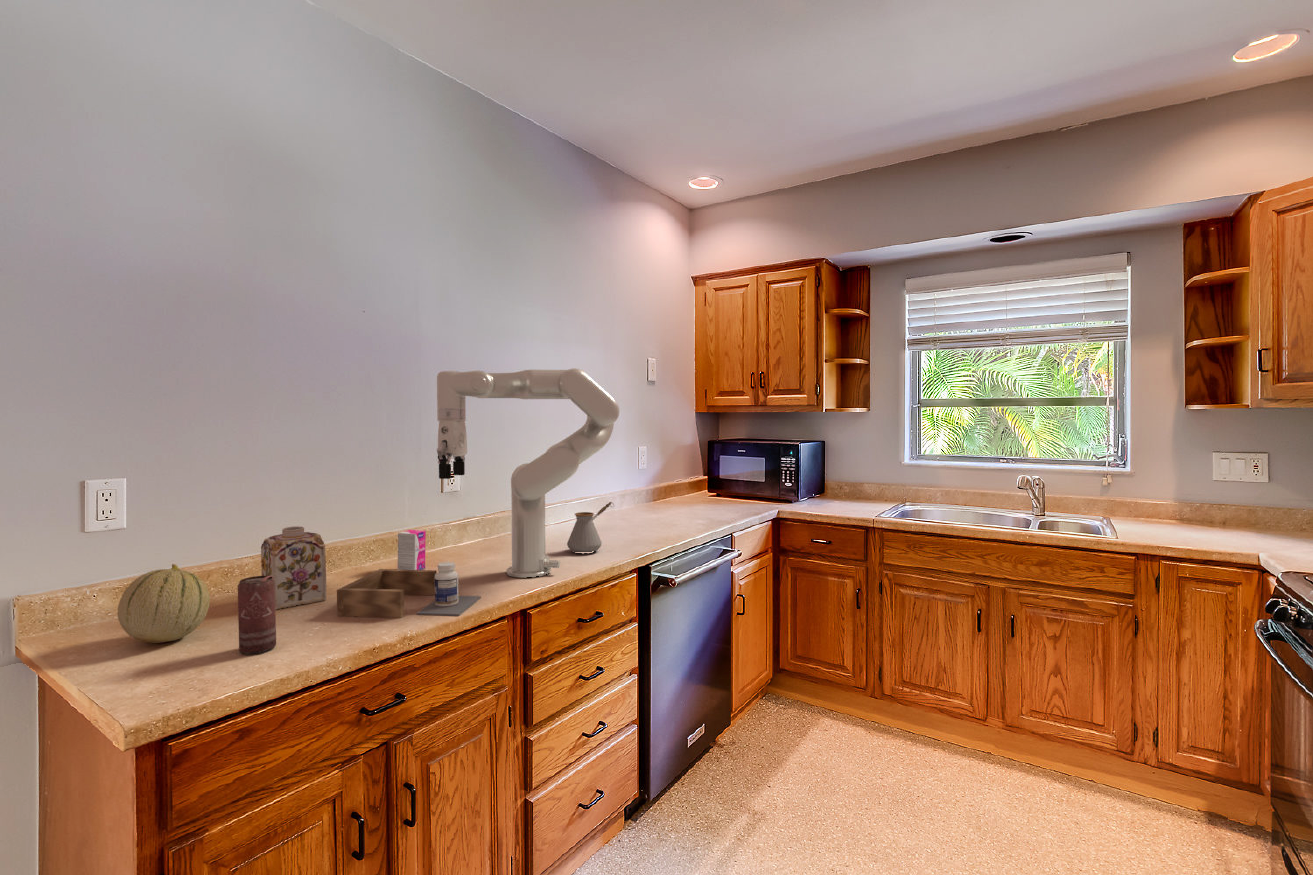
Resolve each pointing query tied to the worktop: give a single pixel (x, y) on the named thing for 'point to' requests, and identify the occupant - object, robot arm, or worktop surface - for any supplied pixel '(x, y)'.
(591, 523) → the coffee pot
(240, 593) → the can
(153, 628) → the cantaloupe
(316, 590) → the decorative jar
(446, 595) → the pill bottle
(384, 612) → the open box
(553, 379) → the robot arm
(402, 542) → the supplement box
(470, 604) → the mat
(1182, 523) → the worktop surface
